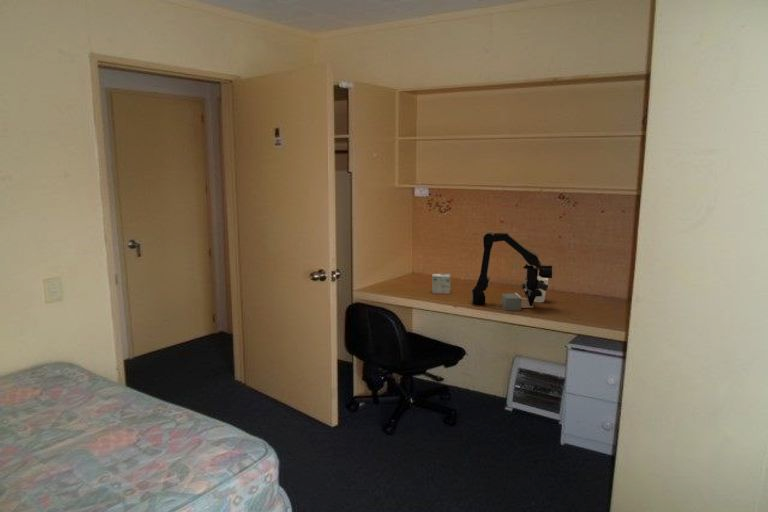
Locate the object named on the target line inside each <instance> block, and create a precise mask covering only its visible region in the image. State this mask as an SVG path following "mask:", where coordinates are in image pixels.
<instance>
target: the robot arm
mask: <svg viewBox="0 0 768 512" xmlns="http://www.w3.org/2000/svg"><path fill="white" fill-rule="evenodd" d="M482 239H483V242H482V243H483V254H482V259H481V260H482V261H481V262H482V263H481V268H480V275H479V277H478V280H477V282H476V285H475V286H474V287H473V289H472V290H471V304H472V305H473V306H484V305H485V306H486V304H485V303H486V295H485V291H486V290H487V289H488V287H489V286H490V280H491V277H489V275H488V274H489V273H488V272H489V266H490V260H491V254H492V248H493V246H494V243H496V242H497V243H498V242H505V243H506V244H508V245H509V246H510V247H511V248H512V249H514V250H515V251H516V252H517V253H519V254H520V255H521V256H522V257H523V259H524V261H525V262H526V263H525V265H523V269H525V270H526V277H524V280H525V282H524V283H522V284H521V285H520V289H521V290H523V293H524V296H525V298H528V301H529V304H530V306H532V305H533V306H534V303H535V302H534V300H535V297H537V296H542V292H541V291H540V290H536V289H539V288H540V289H542V290H544V291H546V292H547V290H548V288H549V285H548V284H545V283H544V281H542V280H540V281H539V280H538V279H537V278H538V277H541V278H548V279H553V265H551V264H549V265H547V264H546V265H545V264H542V262H541V260H539V254H537V253H536V252H534V251H532V250H530V249H528V248H526V247H525V246H523V244H522V243H520V242H519V241H518V240H516V239H515V238H514V237H512V236H511V235H510V234H509V233H508V232H498V233H497V232H494V233H493V232H491V231H489V232H486V233H485V234H484V236H483V238H482Z"/></svg>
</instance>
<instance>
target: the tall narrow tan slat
mask: <svg viewBox="0 0 768 512" xmlns="http://www.w3.org/2000/svg"><path fill="white" fill-rule="evenodd" d="M523 308H524V309H525V308H527V309H529V308H531V309H532V308H534V304H533V305H532V306H530V304H529V301H528V298H526V297H522V298H521V309H523Z"/></svg>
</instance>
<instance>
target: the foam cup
mask: <svg viewBox="0 0 768 512" xmlns="http://www.w3.org/2000/svg"><path fill="white" fill-rule="evenodd" d="M537 279H538V280H539V281H540V280H542V281H544V283H545V284H547V285H548V283H549V278H541V276H538V278H537ZM536 290H540V291H541V292H542V296H537V297H535V300H534V302H533V303H544V302H545V299H546V293H547V290H546V291H544V290H542V289H540V288H539V289H536Z"/></svg>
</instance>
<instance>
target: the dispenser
mask: <svg viewBox="0 0 768 512" xmlns="http://www.w3.org/2000/svg"><path fill="white" fill-rule="evenodd" d="M521 298H523V297H522V296H521V295H520V294H518V293H517V292H514V293H501V301H500V302H501V307H502V309H504V310H505V311H509V312H510V311H522V308H521Z"/></svg>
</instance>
